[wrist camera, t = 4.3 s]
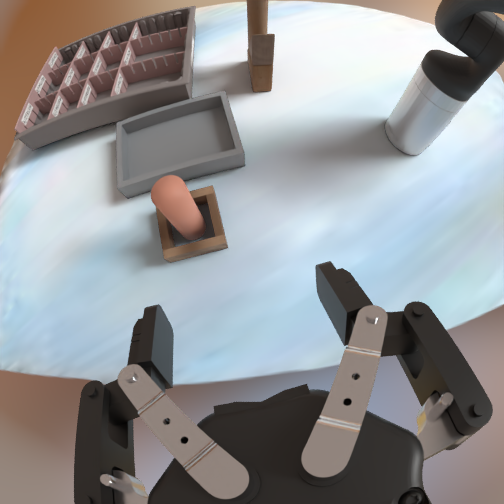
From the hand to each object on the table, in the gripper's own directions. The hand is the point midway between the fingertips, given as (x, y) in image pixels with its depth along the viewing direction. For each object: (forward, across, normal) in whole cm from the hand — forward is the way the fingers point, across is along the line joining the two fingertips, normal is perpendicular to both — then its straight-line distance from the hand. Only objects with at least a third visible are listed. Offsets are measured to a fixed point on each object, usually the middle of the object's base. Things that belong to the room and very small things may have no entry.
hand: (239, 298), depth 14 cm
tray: (+38, +5, -2) cm, 39 cm away
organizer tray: (+57, +18, -20) cm, 63 cm away
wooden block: (+48, -13, -12) cm, 51 cm away
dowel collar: (+28, +5, +8) cm, 30 cm away
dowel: (+28, +5, +8) cm, 30 cm away
